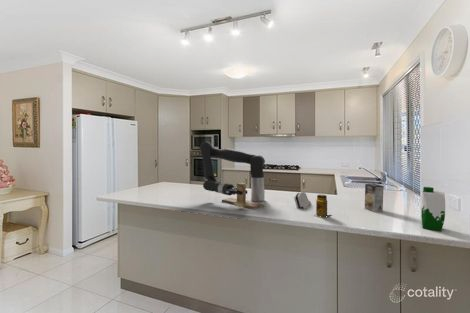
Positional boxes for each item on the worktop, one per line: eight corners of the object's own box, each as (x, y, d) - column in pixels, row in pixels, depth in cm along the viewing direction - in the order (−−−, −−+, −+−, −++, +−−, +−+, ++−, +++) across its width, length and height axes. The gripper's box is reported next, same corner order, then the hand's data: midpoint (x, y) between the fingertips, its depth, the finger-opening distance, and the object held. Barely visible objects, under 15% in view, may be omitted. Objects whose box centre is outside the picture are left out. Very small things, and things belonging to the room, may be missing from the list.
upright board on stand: (240, 203, 165) (240, 182, 165) (248, 205, 161) (248, 183, 160) (234, 205, 161) (234, 183, 160) (242, 207, 156) (242, 184, 155)
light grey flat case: (304, 208, 160) (299, 193, 162) (297, 210, 163) (292, 195, 164) (311, 203, 175) (306, 189, 176) (304, 205, 177) (300, 191, 178)
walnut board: (231, 199, 188) (231, 197, 188) (263, 206, 168) (263, 203, 167) (221, 201, 181) (221, 199, 181) (253, 209, 160) (253, 206, 160)
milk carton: (421, 224, 130) (423, 185, 129) (444, 228, 124) (446, 187, 123) (420, 228, 123) (421, 188, 122) (443, 232, 117) (445, 190, 116)
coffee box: (363, 208, 161) (364, 183, 160) (372, 208, 162) (373, 183, 161) (374, 212, 152) (374, 186, 151) (383, 211, 153) (384, 185, 152)
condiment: (313, 215, 146) (313, 195, 145) (320, 212, 152) (320, 193, 151) (325, 218, 141) (325, 197, 140) (332, 215, 146) (332, 195, 146)
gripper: (218, 184, 165) (236, 188, 153) (233, 182, 175) (252, 185, 163) (218, 196, 165) (236, 200, 154) (233, 192, 176) (251, 196, 164)
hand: (244, 192), depth 158 cm, fingers closed on upright board on stand, 4 cm apart
